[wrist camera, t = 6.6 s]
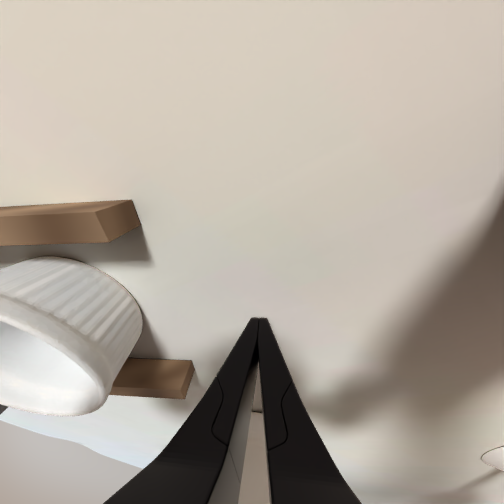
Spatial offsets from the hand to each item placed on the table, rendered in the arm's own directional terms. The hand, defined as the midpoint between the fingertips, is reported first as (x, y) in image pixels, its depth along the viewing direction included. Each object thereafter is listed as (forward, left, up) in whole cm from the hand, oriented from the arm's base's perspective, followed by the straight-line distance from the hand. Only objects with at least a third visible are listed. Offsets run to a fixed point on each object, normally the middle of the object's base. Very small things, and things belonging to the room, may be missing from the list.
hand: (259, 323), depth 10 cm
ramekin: (+12, 0, -2) cm, 12 cm away
